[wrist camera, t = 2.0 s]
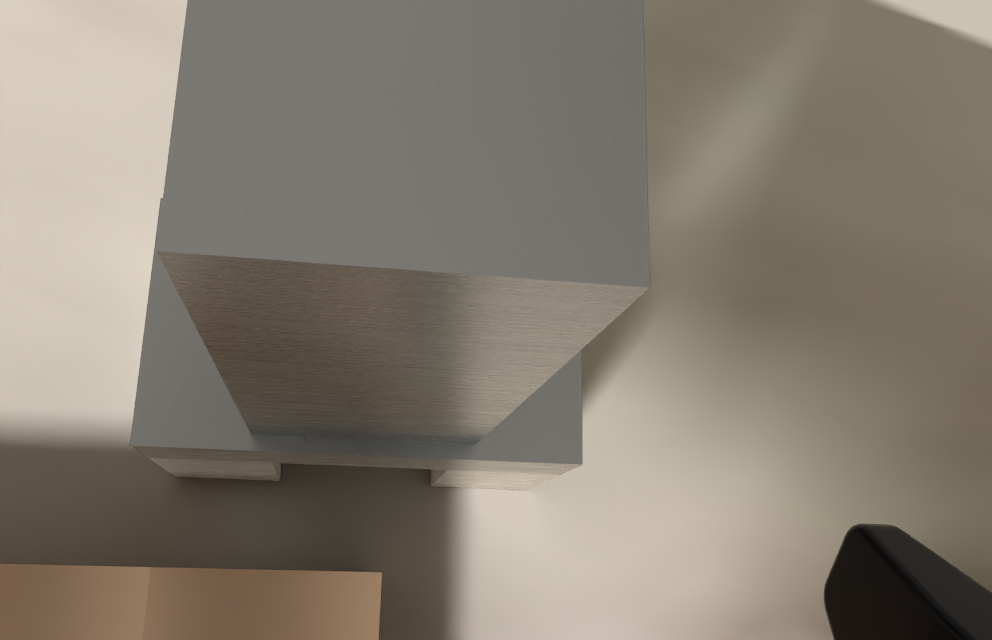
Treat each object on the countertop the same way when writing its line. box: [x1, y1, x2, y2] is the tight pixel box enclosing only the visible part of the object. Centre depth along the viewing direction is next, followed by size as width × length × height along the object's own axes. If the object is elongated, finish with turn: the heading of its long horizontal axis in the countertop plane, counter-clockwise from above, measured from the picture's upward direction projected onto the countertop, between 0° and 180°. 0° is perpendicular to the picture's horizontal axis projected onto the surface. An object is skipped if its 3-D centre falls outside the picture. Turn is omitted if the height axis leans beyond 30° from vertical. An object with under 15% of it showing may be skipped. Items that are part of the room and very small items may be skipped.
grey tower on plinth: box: [130, 0, 650, 490], centre depth 13 cm, size 7×4×13 cm, turn 89°
